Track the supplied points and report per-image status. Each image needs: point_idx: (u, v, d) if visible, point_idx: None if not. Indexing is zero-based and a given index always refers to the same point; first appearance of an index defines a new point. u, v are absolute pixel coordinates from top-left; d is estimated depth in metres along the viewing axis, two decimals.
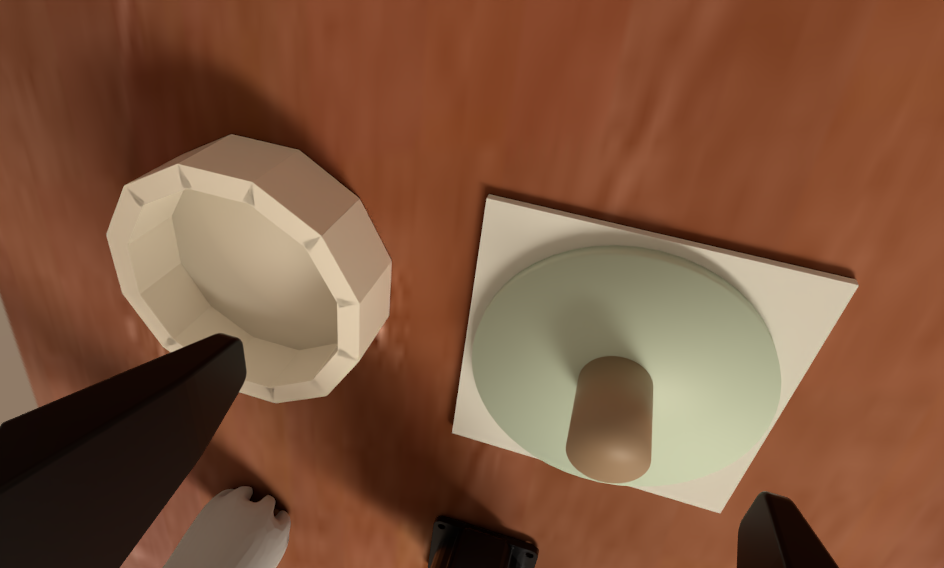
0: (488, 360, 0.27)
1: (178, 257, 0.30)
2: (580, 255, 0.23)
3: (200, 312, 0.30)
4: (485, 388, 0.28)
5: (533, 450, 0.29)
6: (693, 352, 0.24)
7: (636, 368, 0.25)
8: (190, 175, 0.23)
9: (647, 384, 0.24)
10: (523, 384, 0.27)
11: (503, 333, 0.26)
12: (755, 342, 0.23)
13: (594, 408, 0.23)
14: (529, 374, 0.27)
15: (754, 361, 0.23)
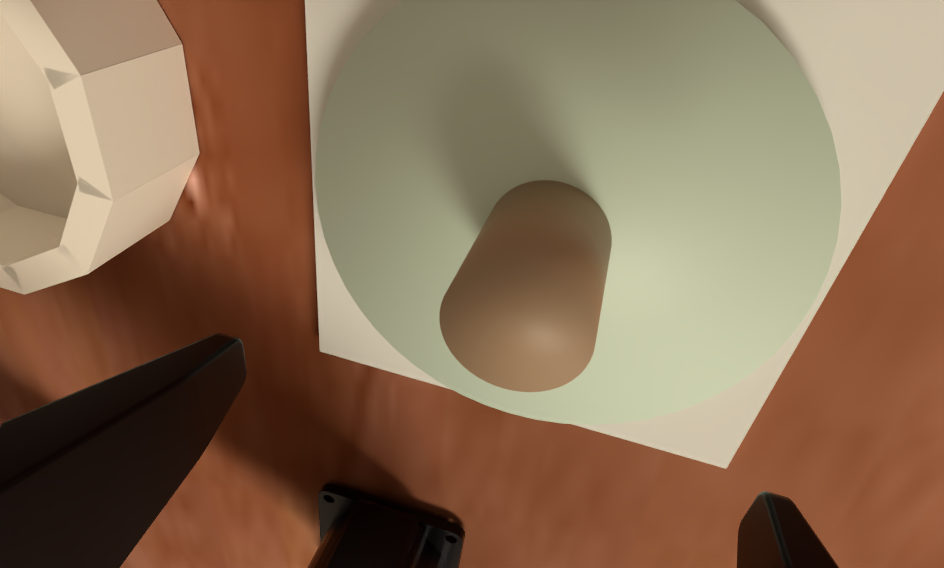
0: (343, 208, 0.16)
1: None
2: None
3: None
4: (346, 263, 0.17)
5: (432, 369, 0.19)
6: (678, 158, 0.13)
7: (579, 196, 0.14)
8: None
9: (597, 222, 0.14)
10: (402, 250, 0.17)
11: (358, 152, 0.15)
12: (796, 122, 0.12)
13: (490, 245, 0.12)
14: (409, 230, 0.16)
15: (791, 167, 0.13)
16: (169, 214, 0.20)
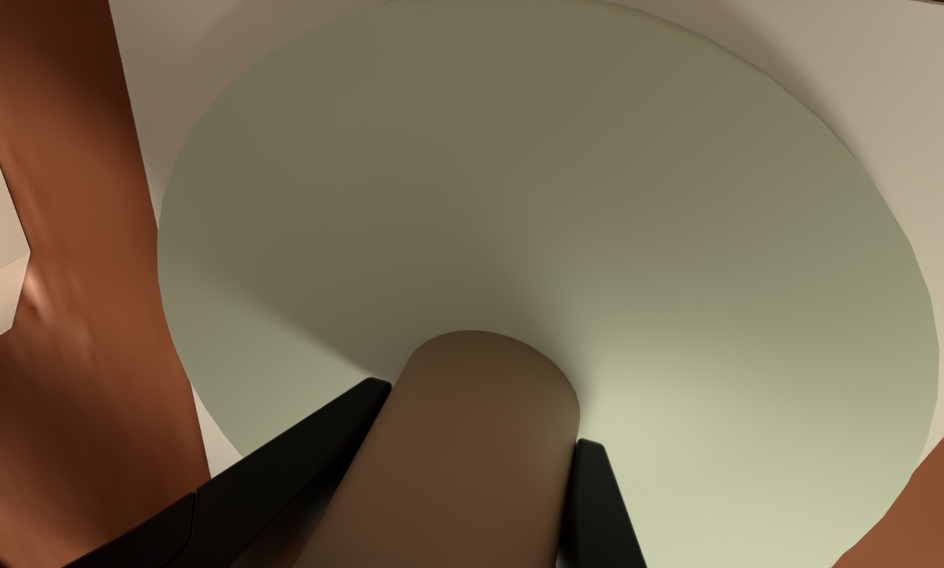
0: (206, 344, 0.12)
1: None
2: (337, 19, 0.08)
3: None
4: (221, 409, 0.13)
5: None
6: (679, 316, 0.08)
7: (528, 362, 0.09)
8: None
9: (555, 405, 0.09)
10: (291, 399, 0.12)
11: (214, 277, 0.11)
12: (871, 279, 0.07)
13: (368, 485, 0.07)
14: (297, 378, 0.11)
15: (858, 340, 0.08)
16: (6, 322, 0.15)
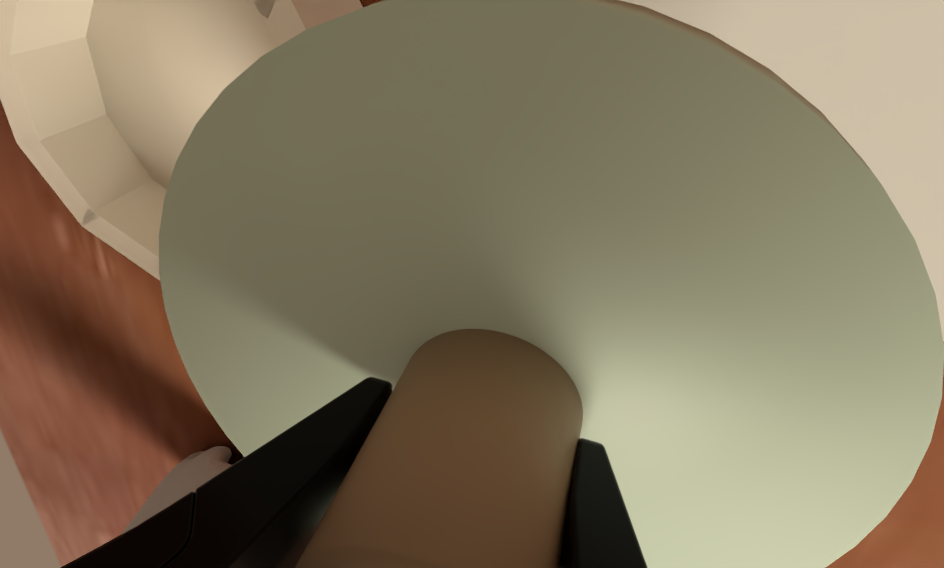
0: (207, 343, 0.12)
1: (102, 104, 0.21)
2: None
3: (136, 184, 0.22)
4: (223, 408, 0.13)
5: None
6: (683, 314, 0.08)
7: (531, 360, 0.09)
8: None
9: (557, 404, 0.09)
10: (293, 399, 0.12)
11: (216, 275, 0.11)
12: (876, 276, 0.07)
13: (371, 484, 0.07)
14: (299, 377, 0.11)
15: (863, 338, 0.08)
16: None
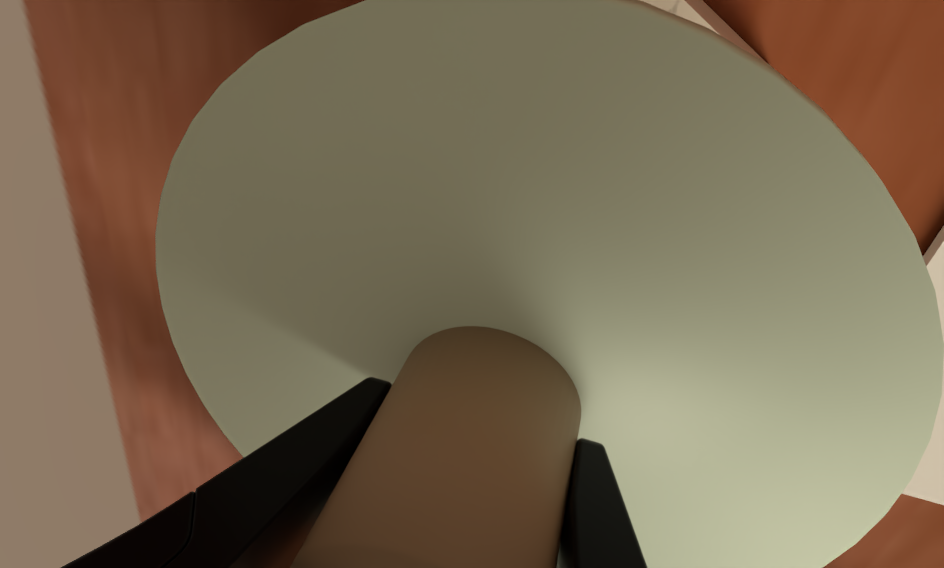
0: (204, 341, 0.12)
1: None
2: None
3: None
4: (220, 406, 0.13)
5: None
6: (681, 311, 0.08)
7: (529, 358, 0.09)
8: None
9: (555, 402, 0.09)
10: (290, 396, 0.12)
11: (213, 273, 0.10)
12: (875, 273, 0.07)
13: (368, 481, 0.07)
14: (297, 374, 0.11)
15: (863, 336, 0.08)
16: None
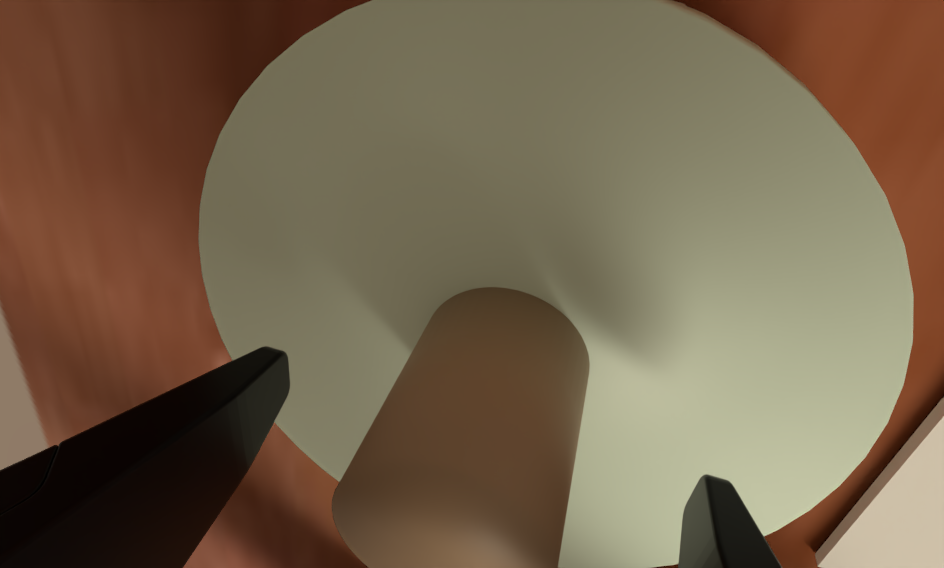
0: (241, 307, 0.12)
1: None
2: None
3: None
4: None
5: None
6: (680, 268, 0.09)
7: (543, 314, 0.10)
8: None
9: (567, 352, 0.10)
10: (319, 359, 0.13)
11: (251, 241, 0.11)
12: (851, 230, 0.08)
13: (404, 413, 0.08)
14: (326, 337, 0.12)
15: (842, 288, 0.09)
16: None
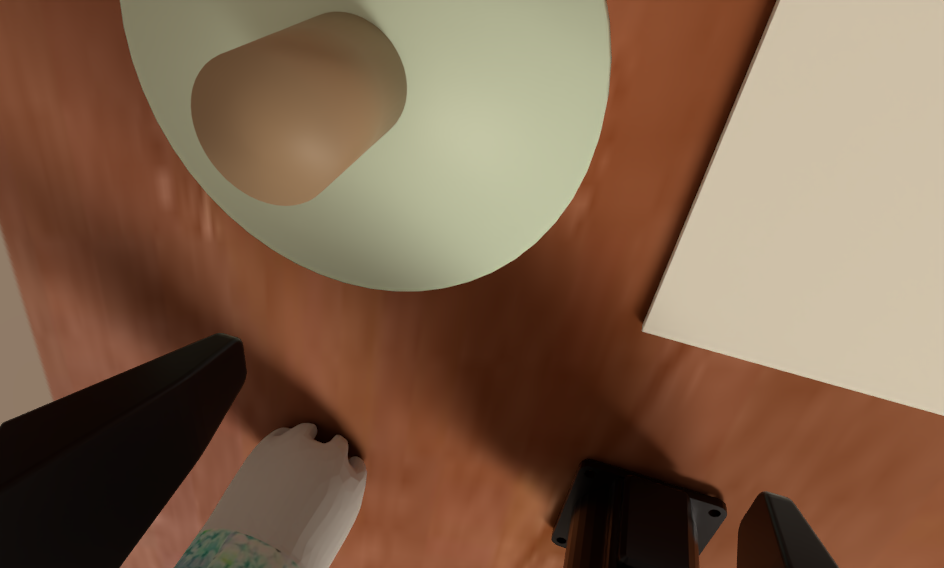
0: (155, 55, 0.16)
1: None
2: None
3: None
4: (168, 119, 0.17)
5: (267, 237, 0.19)
6: None
7: (363, 24, 0.14)
8: None
9: (377, 48, 0.14)
10: None
11: None
12: None
13: None
14: None
15: None
16: None
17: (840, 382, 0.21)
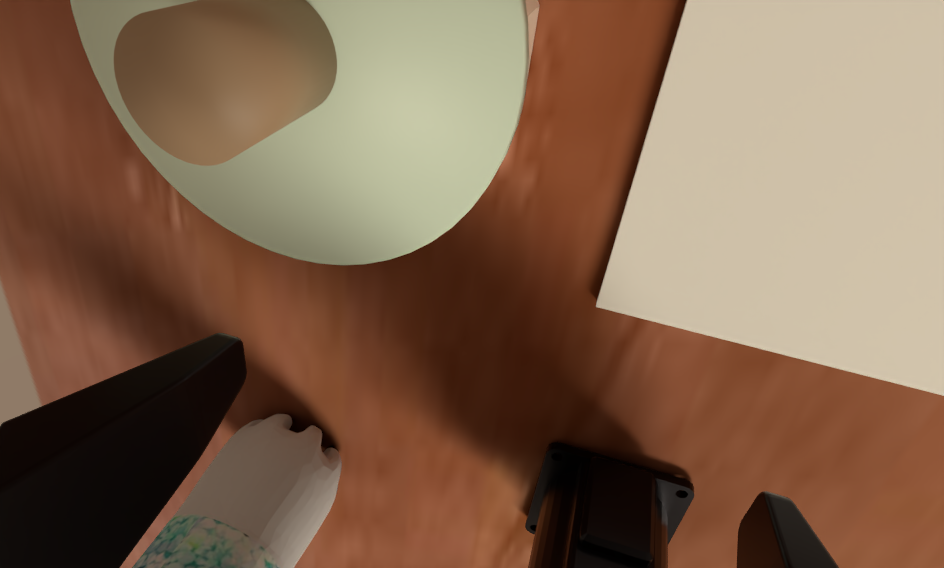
0: (102, 37, 0.17)
1: None
2: None
3: None
4: (119, 100, 0.18)
5: (219, 216, 0.19)
6: None
7: None
8: None
9: (301, 17, 0.14)
10: None
11: None
12: None
13: None
14: None
15: None
16: None
17: (792, 352, 0.21)
